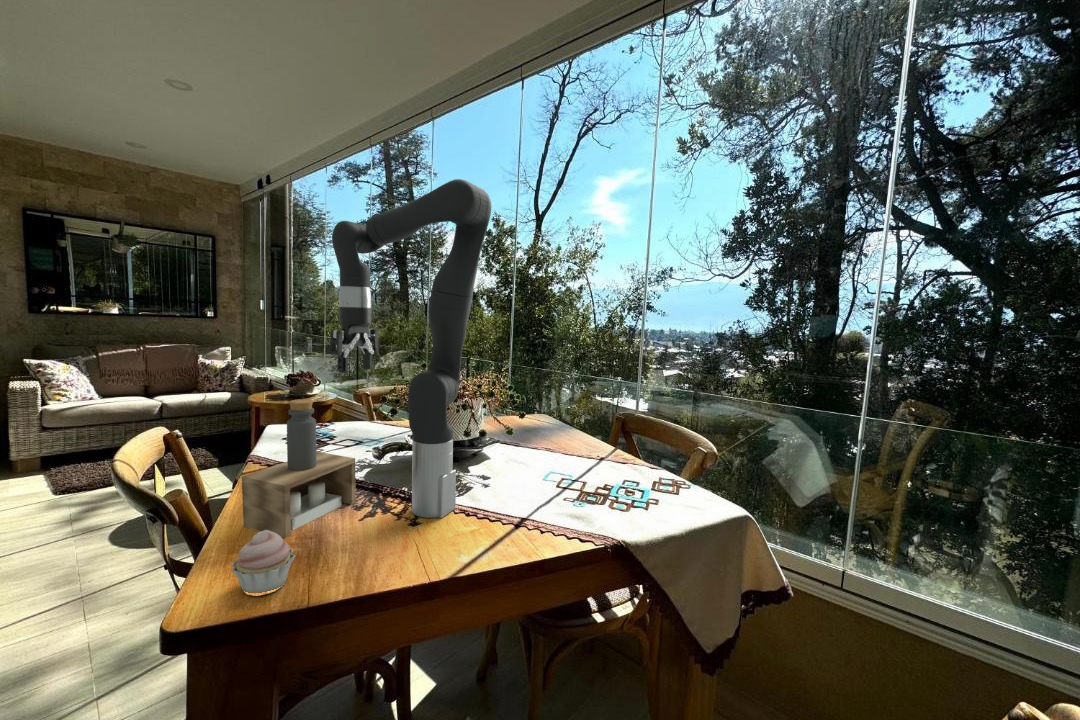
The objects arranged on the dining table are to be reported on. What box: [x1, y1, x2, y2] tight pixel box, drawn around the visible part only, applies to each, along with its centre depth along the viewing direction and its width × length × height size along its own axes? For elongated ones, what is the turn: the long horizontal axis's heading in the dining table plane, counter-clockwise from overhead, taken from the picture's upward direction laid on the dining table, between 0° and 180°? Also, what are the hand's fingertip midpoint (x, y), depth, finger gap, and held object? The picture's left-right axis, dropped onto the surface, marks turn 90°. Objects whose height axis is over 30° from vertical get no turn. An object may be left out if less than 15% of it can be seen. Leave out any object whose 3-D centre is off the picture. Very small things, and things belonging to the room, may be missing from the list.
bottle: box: [286, 398, 317, 471], centre depth 108 cm, size 6×6×15 cm
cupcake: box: [231, 530, 296, 593], centre depth 81 cm, size 9×9×10 cm
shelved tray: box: [290, 482, 343, 531], centre depth 109 cm, size 8×14×6 cm, turn 160°
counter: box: [241, 451, 357, 539], centre depth 109 cm, size 12×20×11 cm, turn 160°
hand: (355, 370), depth 121 cm, fingers open, 8 cm apart
